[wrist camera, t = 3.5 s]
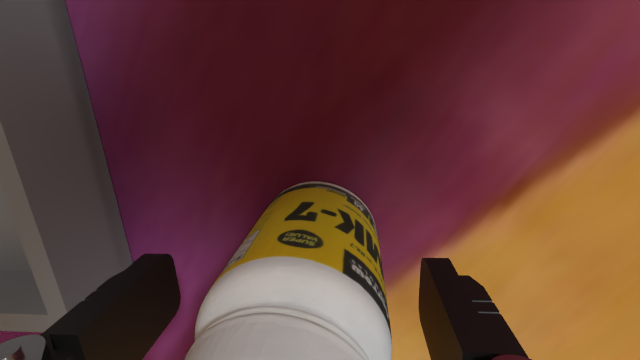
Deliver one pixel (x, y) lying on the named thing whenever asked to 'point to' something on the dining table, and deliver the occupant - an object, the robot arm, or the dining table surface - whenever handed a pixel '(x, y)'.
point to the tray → (50, 173)
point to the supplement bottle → (300, 285)
